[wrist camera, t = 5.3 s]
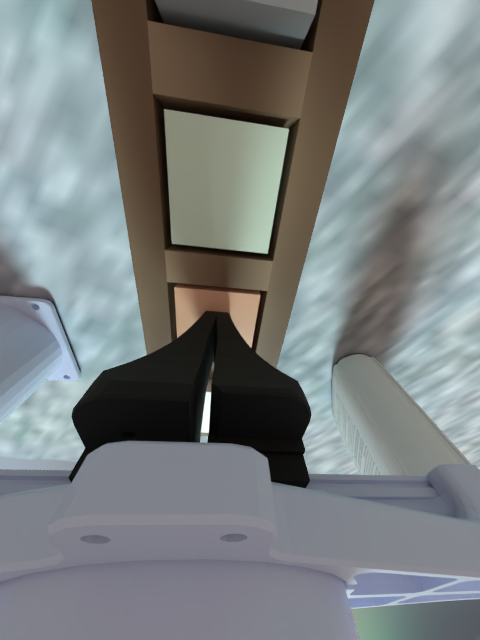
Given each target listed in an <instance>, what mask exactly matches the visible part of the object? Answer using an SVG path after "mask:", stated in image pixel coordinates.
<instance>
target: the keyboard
mask: <svg viewBox="0 0 480 640" xmlns="http://www.w3.org/2000/svg"><path fill="white" fill-rule="evenodd" d="M373 4H374V0H318V3H317V8H316V14H315V16H314V19H313V21H312V23H311V25H310V28H309V30H308V32H307V34H306V37H305V39H304V41H303V43H302V46H301V48H300V50H298V49H292V48H287V47H282V46H277V45H272V44H267V43H261V42H256V41H251V40H246V39H241V38H236V37H230V36H225V35H220V34H215V33H210V32H205V31H199V30H194V29H189V28H184V27H179V26H174V25H168V24H164V23H163V20H162V18H161V15H160V12H159V10H158V7H157V5H156V2H155V0H92V6H93V13H94V19H95V25H96V32H97V38H98V45H99V51H100V57H101V64H102V70H103V76H104V83H105V89H106V96H107V102H108V108H109V115H110V121H111V128H112V134H113V140H114V147H115V153H116V159H117V166H118V172H119V179H120V185H121V191H122V198H123V204H124V210H125V217H126V223H127V230H128V236H129V242H130V249H131V255H132V262H133V268H134V274H135V281H136V287H137V293H138V300H139V306H140V313H141V319H142V325H143V332H144V338H145V345H146V351H147V355H148V354H150V353H153V352H154V351H156V350H158V349H160V348H162V347H164V346H166V345H167V344H169V343H171V342H172V341H174V340H175V339H177V326H176V309H175V291H174V287H175V286H176V284H177V283H184V284H195V285H206V286H217V287H228V288H239V289H251V290H259V292H260V301H259V306H258V312H257V318H256V324H255V330H254V335H253V341H252V347H251V348H252V349H253V350H254V351H255V352H256V353H257V354H258V355H259V356H260V357H261V358H263V359H264V360H265V361H266V362H268V363H269V364H270V365H272V366H273V367H275V368H276V367H277V363H278V360H279V356H280V352H281V348H282V345H283V341H284V337H285V333H286V330H287V326H288V322H289V318H290V315H291V311H292V307H293V303H294V300H295V296H296V292H297V288H298V285H299V281H300V277H301V273H302V270H303V266H304V262H305V258H306V255H307V251H308V247H309V243H310V240H311V236H312V232H313V228H314V225H315V221H316V217H317V213H318V210H319V206H320V202H321V198H322V195H323V191H324V187H325V183H326V180H327V176H328V172H329V168H330V165H331V161H332V157H333V153H334V150H335V146H336V142H337V138H338V135H339V131H340V127H341V124H342V120H343V116H344V112H345V109H346V105H347V101H348V97H349V94H350V90H351V86H352V82H353V79H354V75H355V71H356V67H357V64H358V60H359V56H360V52H361V49H362V45H363V41H364V37H365V34H366V30H367V26H368V22H369V19H370V15H371V11H372V7H373ZM164 109H167V110H174V111H180V112H186V113H192V114H199V115H205V116H211V117H217V118H224V119H230V120H236V121H243V122H249V123H255V124H261V125H268V126H274V127H280V128H287V129H289V133H288V138H287V144H286V150H285V156H284V162H283V167H282V173H281V179H280V185H279V191H278V196H277V202H276V208H275V214H274V220H273V225H272V231H271V237H270V243H269V249H268V254H265V253H256V252H246V251H237V250H227V249H218V248H208V247H199V246H190V245H180V244H172V239H171V222H170V205H169V187H168V170H167V153H166V135H165V118H164ZM213 371H214V358H213V363H212V367H211V372H210V376H209V379H212V377H213ZM208 434H209V433H204V432H201V436H208Z"/></svg>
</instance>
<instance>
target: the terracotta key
mask: <svg viewBox="0 0 480 640" xmlns="http://www.w3.org/2000/svg"><path fill="white" fill-rule="evenodd" d="M174 291H175V309H176V326H177V338H178V337H179V336H181V335H182V334H183V333H184V332H185V331H186V330H188V329H189V328H190V327H191V326H192V325H193V324H194V323H195V322H196V321H197V320H198V319H199V318H200V317H201V316H202V314H203V313H204V312H205V311H217V312H228V313H229V314H230V316H231V319H232V321H233V323H234V325H235V326H236V328H237V330H238V331H239V333H240V334H241V336H242V337H243V339H244V340H245V341H246V343H247V344H248V345H249V346H250V347H252V341H253V335H254V330H255V324H256V318H257V312H258V306H259V301H260V292H259V290H251V289H239V288H228V287H217V286H206V285H195V284H184V283H177V284H176V286H175V287H174Z"/></svg>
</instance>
